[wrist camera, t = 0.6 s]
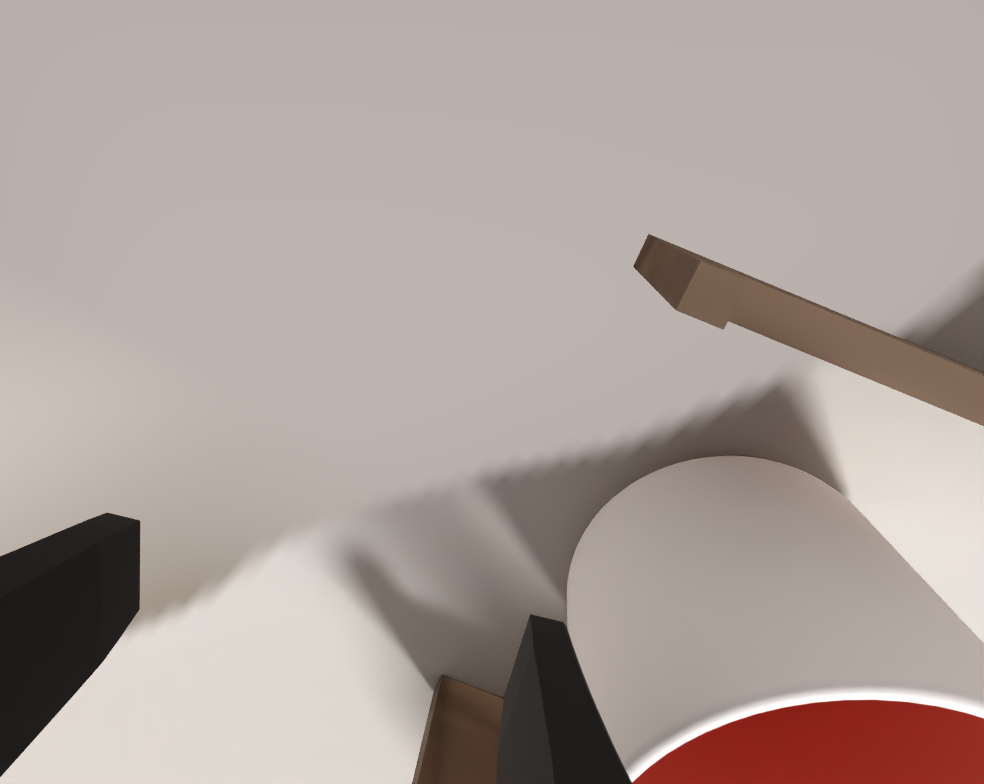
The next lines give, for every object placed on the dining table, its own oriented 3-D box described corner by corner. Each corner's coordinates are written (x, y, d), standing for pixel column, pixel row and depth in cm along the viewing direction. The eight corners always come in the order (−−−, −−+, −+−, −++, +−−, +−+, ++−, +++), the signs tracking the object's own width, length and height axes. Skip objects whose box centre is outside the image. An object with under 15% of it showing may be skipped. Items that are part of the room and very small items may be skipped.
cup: (722, 378, 19) (897, 578, 9) (929, 573, 20) (1263, 918, 11) (508, 571, 22) (472, 869, 12) (700, 727, 23) (802, 1102, 14)
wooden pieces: (800, 832, 24) (883, 1051, 18) (433, 692, 24) (391, 869, 18) (1141, 438, 18) (1448, 570, 12) (648, 234, 17) (700, 260, 11)
